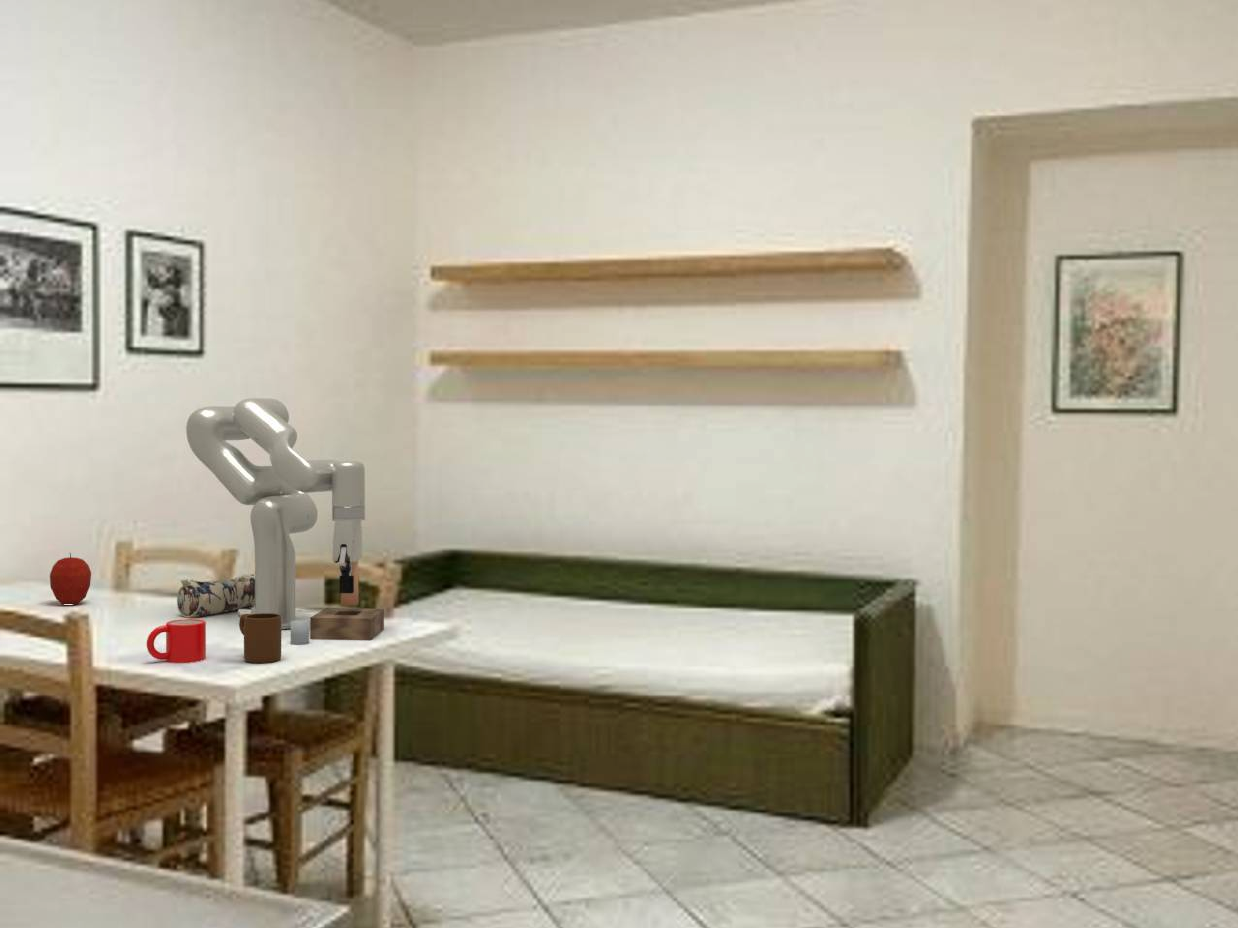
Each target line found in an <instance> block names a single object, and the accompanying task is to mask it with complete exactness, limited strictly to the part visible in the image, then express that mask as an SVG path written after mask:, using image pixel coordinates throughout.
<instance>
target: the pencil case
mask: <svg viewBox="0 0 1238 928" xmlns="http://www.w3.org/2000/svg"><path fill="white" fill-rule="evenodd" d="M180 582H181V585H182V586H180V588H179V589H178V590H177V594H176V595H177V596H176V597H177V598H176V605H177V610H178V613H179V614H180V615H181V616H182V617H184V618H185V619H195V618H199V617H206V616H211V615H217V614H224V613H229V612H233V611H238V610H239V609H251V608H253V607H255V573H249V574H242V575H241V576H238V577H235V578H232V579H221V580H208V581H199V580H194V579H190V580H189V579H181V581H180Z"/></svg>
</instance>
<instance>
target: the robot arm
mask: <svg viewBox="0 0 1238 928" xmlns="http://www.w3.org/2000/svg"><path fill="white" fill-rule="evenodd" d="M289 418H290V414H289V411H288V409H287V407H286V405H285V404H284V403H282V402H281V401H280V400H278V399H274V398H255V397H253V398H250V397H249V398H246V399H243V400H240V401H239V402H237V403H236V404H235V406H217V405H215V406H205V407H201V408H198V409H196V410H194V411H193V412H192V413H191V414H190V415H189V416H188V419H187V422H186V427H185V429H186V430H185V431H186V432H185V433H186V439H187V443H188V446H189V447H190V449H191V451H192V453H193V454H194V456H195V457H196V458H197V459H198V460H199V461H200V462H201V463H202V464H203V465H204V466H205V467H206V468H207V469H208V470H209V471H210V472H211V473H212V474H213V475H214V476H215V478H217V480H218V481H219V482H220V483H221V485H222V486H223V487H224V488H225V489H226V490H227V491H228V493H230V494H231V495H232V497H234V499H235V500H236V501H237V502H238V503H240V504H241V505H244V506H252V508H251V511H250V516H249V517H250V519H249V520H250V527H251V531H252V535H253V536H252V537H253V544H254V545H253V546H254V577H255V606H254V607H251V608H244V609H238V610H237V616H238V617H239V618H240V617H241V616H242V615H244V614H258V613H273V614H279V615H280V616H281V630H289V629H290V630H291V621H293V620H302V619H301V618H298V617H296V550H295V547H294V546H295V545H294V543H293V541H292V538H291V536H290V534H298V533H304V532H307V531H309V530H310V529H312V528H313V527H314V526H315V525H316V523H317V521H318V509H317V506H316V504H315V502H314V500H313V499H312V497H311V496H310V495H309V494H310V493H319V492H320V493H321V492H322V493H323V492H324V493H325V492H331V498H332V499H331V505H332V506H331V517H332V518H331V520H332V521H334V527H333V540H332V562H333V563H334V564H338V567H339V593H340V594H341V593H353V592H354V576H352V569H353V563H354V562H355V561H357V559H358V561H360V560H361V559H362V556H363V534H362V533H363V531H362V529H363V527H362V521H365V520H366V488H365V487H366V486H365V485H366V479H365V476H366V473H365V472H366V471H365V470H366V469H365V465H364V464H363V463H362V462H361V461H353V460H352V461H351V460H346V461H345V460H344V461H339V460H334V459H313V460H311V459H309V460H307V459H305V458H303V457H302V456H300V455H299V453H297V452H296V451H295V450H294V449H293V448H294V446H295V445H296V443H297V439H298V432H297V430H296V428H294V427H293V426H292V425H291V424H289V421H290V419H289ZM249 439H250V440H252V441H254V443H255V444H256V445H258V446H259V447H260V448H261V449H262V450H264V452H266V453H267V454H268V455H269V461H270V464H271V465H256V464H254V463H252V462H251V461H250V460H249V459H248V458H247V457H246V456H245V455H244V453H243V452H242V451H241V450H240V449H239V448H237V447H236V446H234V445H232V444H230V443H229V442H227V441H242V440H249ZM308 493H309V494H308ZM346 560H349V561H350V563H346ZM346 565H349V567H348V566H346ZM359 575H360V574H359V572H358V590H359V589H360V588H359V586H360V583H359V579H360V578H359V577H360V576H359Z"/></svg>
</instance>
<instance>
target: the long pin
mask: <svg viewBox="0 0 1238 928" xmlns="http://www.w3.org/2000/svg"><path fill="white" fill-rule="evenodd" d="M346 563H350V561H349V560H346ZM346 566H348V567H349V565H346ZM358 573H359V560H358V559H357V561H355V562H354V563H353V569H352V576H354V592H353V593H340V606H341V607H356V606H358V605H359V589H358Z"/></svg>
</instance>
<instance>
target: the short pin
mask: <svg viewBox="0 0 1238 928" xmlns="http://www.w3.org/2000/svg"><path fill="white" fill-rule="evenodd" d="M308 644H310V620H308V619H301V620H293V621H291V628H290V645H294V646H304V645H308Z"/></svg>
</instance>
